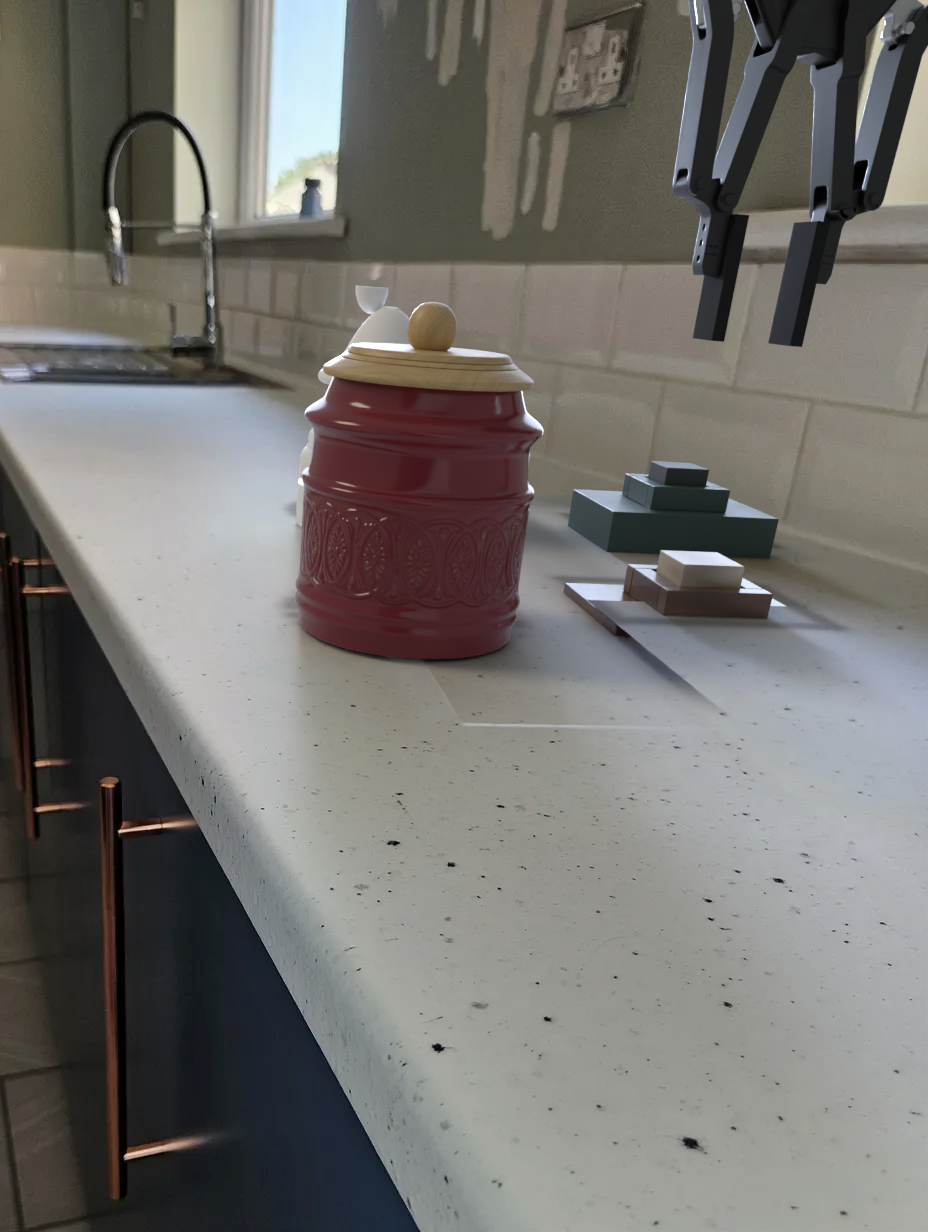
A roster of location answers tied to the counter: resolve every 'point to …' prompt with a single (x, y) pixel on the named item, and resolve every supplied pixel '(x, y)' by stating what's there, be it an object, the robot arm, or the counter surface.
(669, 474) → the ebony key
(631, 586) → the stepped block pedestal
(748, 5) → the robot arm
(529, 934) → the counter surface
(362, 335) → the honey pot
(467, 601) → the kitchen canister
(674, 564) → the ivory key
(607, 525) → the tiered step pyramid
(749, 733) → the counter surface
